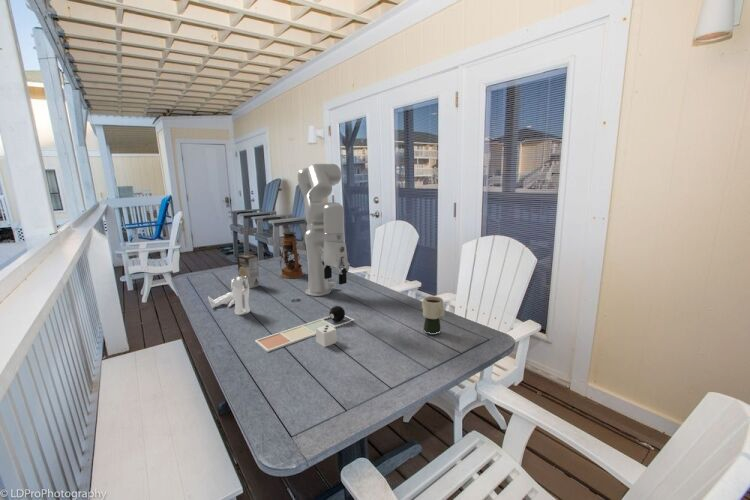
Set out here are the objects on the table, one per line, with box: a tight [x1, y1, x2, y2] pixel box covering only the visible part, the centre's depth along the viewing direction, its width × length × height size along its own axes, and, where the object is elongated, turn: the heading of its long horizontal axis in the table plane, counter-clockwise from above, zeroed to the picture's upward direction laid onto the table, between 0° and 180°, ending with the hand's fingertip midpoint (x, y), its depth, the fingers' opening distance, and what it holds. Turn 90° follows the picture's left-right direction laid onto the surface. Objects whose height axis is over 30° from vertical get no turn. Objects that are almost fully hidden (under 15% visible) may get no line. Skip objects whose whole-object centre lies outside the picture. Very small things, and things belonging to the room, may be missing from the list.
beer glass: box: [230, 275, 251, 316], centre depth 144 cm, size 7×7×15 cm
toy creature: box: [207, 291, 235, 309], centre depth 154 cm, size 12×6×12 cm
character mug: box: [421, 295, 446, 333], centre depth 126 cm, size 11×7×13 cm, turn 37°
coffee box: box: [236, 253, 260, 289], centre depth 179 cm, size 9×6×16 cm
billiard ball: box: [328, 305, 346, 323], centre depth 137 cm, size 6×6×6 cm
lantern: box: [279, 224, 304, 279], centre depth 196 cm, size 17×13×30 cm
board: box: [254, 314, 355, 353], centre depth 128 cm, size 37×10×1 cm, turn 132°
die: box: [315, 325, 337, 348], centre depth 119 cm, size 5×5×5 cm
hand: (335, 280), depth 134 cm, fingers open, 9 cm apart
